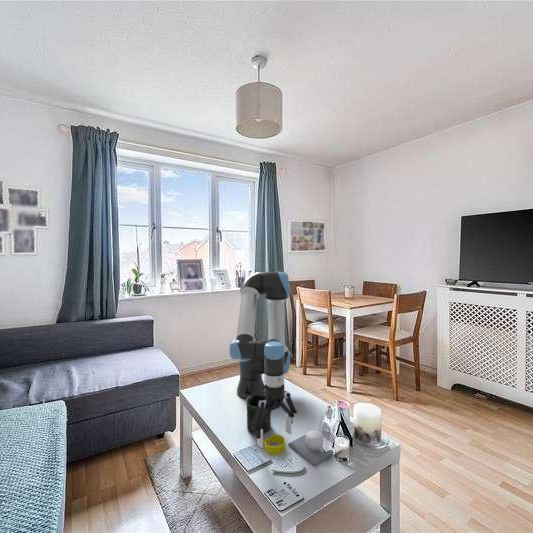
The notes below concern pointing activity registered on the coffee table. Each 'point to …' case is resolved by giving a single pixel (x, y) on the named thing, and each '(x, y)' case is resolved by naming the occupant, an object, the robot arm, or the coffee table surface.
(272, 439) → the bracelet
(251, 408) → the mug
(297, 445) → the plate
